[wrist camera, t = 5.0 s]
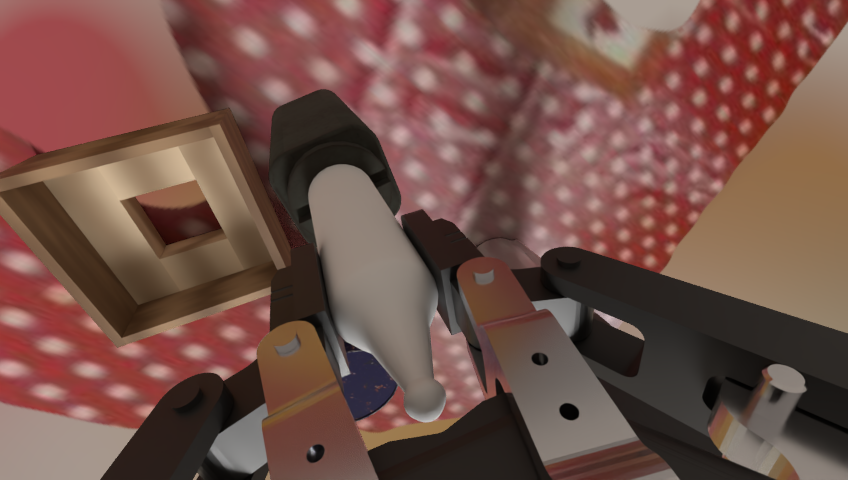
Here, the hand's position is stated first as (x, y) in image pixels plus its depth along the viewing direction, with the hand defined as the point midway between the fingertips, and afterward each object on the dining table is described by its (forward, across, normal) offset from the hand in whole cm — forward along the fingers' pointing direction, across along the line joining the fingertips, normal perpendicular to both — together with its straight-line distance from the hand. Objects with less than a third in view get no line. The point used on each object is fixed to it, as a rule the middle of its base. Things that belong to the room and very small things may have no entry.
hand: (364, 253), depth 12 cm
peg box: (+30, +15, +7) cm, 34 cm away
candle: (+19, 0, 0) cm, 19 cm away
